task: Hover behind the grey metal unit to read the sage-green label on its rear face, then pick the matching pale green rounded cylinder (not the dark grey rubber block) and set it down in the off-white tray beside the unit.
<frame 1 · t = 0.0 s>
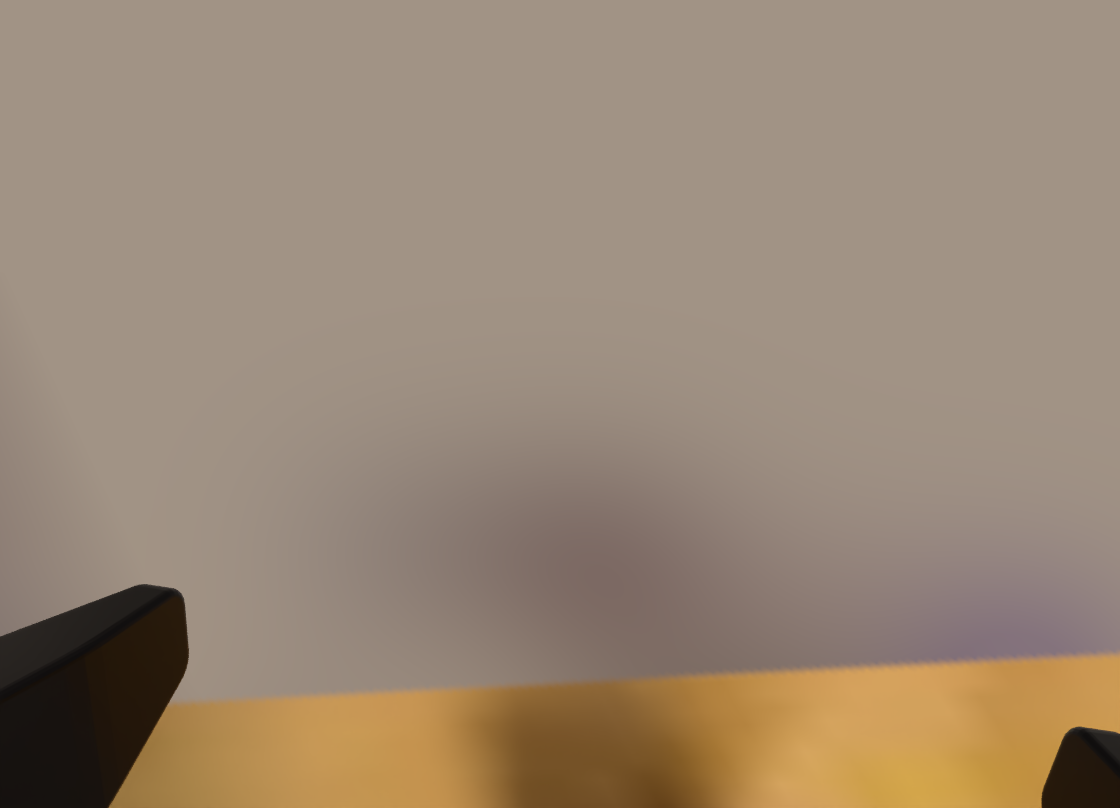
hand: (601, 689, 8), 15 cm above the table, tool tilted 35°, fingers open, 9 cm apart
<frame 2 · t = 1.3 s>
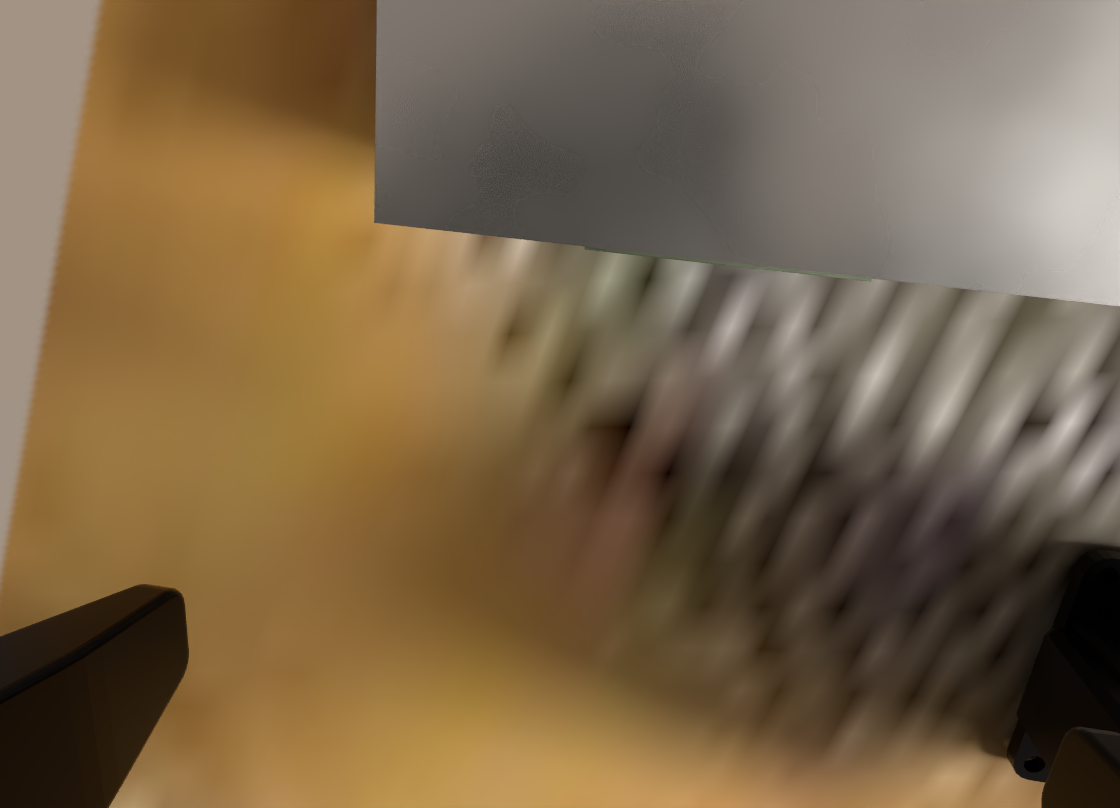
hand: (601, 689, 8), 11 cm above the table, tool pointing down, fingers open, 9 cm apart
unit: (723, 76, 16), on the table
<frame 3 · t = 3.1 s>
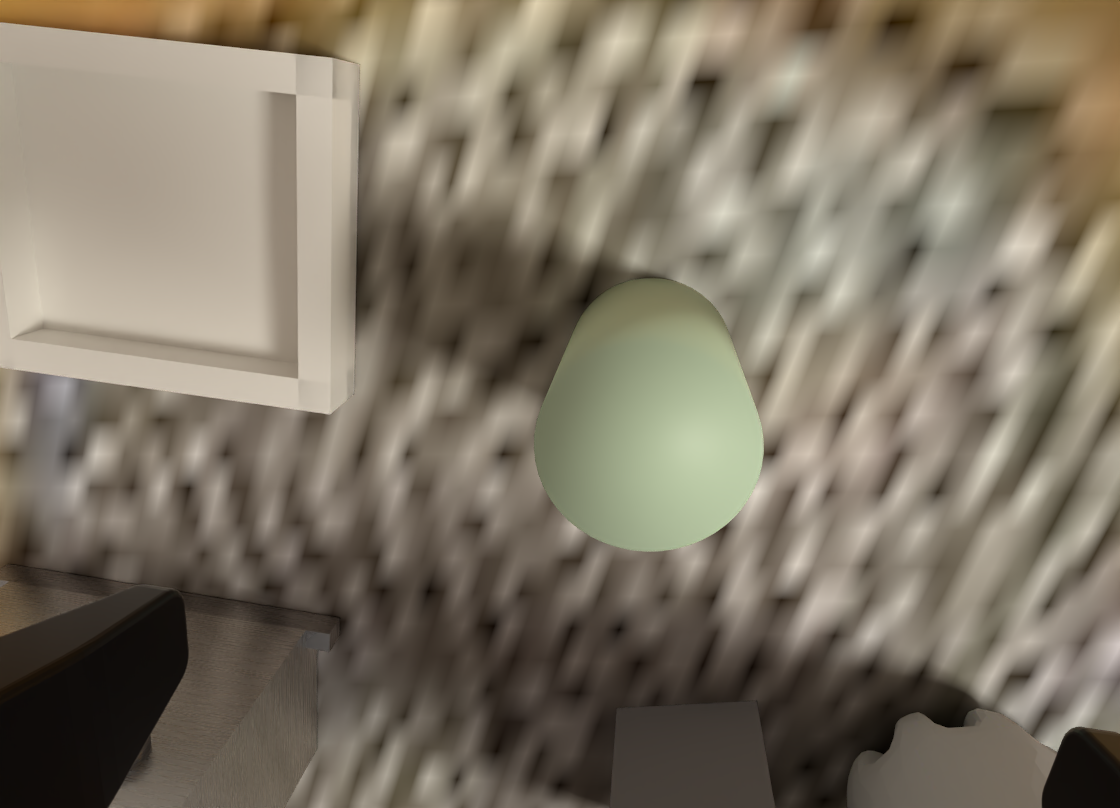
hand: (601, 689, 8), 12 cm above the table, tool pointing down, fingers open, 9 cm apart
bottle: (943, 770, 22), on the table
grey block: (693, 758, 23), on the table
pale green rounded cylinder: (649, 358, 19), on the table
unit: (176, 659, 24), on the table
tray: (182, 218, 20), on the table
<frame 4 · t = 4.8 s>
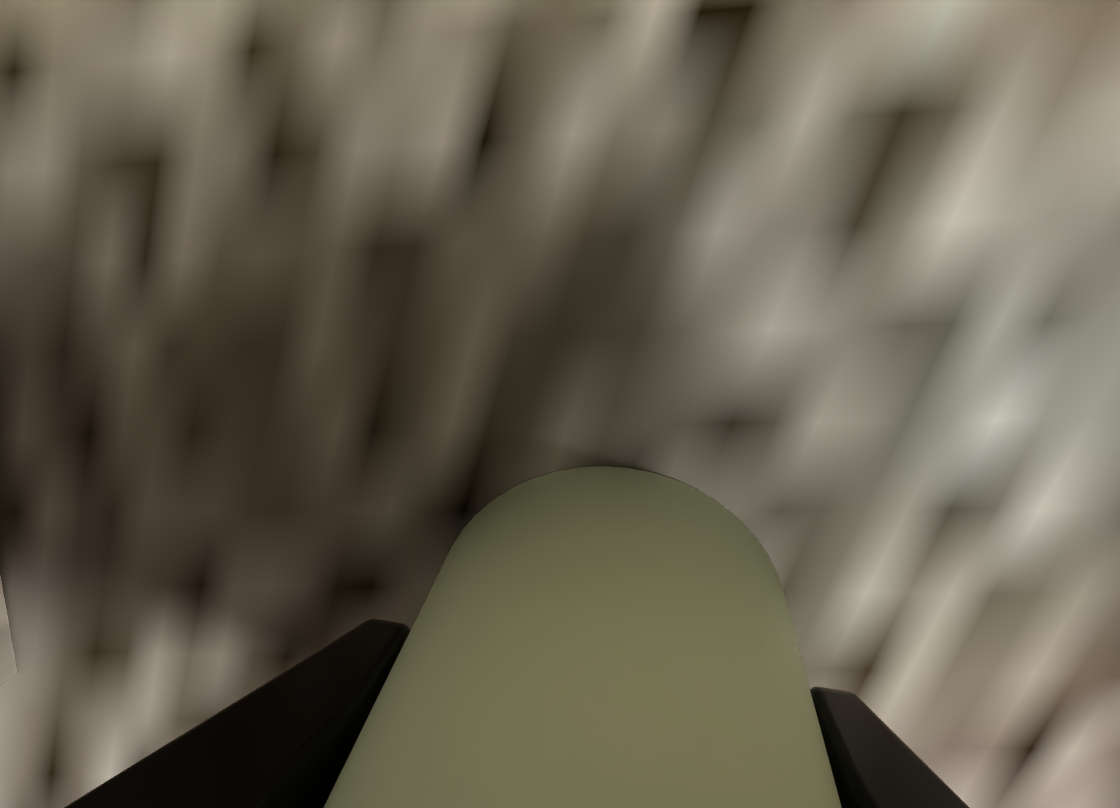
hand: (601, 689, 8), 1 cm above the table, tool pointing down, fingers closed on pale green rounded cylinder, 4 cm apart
pale green rounded cylinder: (607, 627, 9), on the table, touching gripper
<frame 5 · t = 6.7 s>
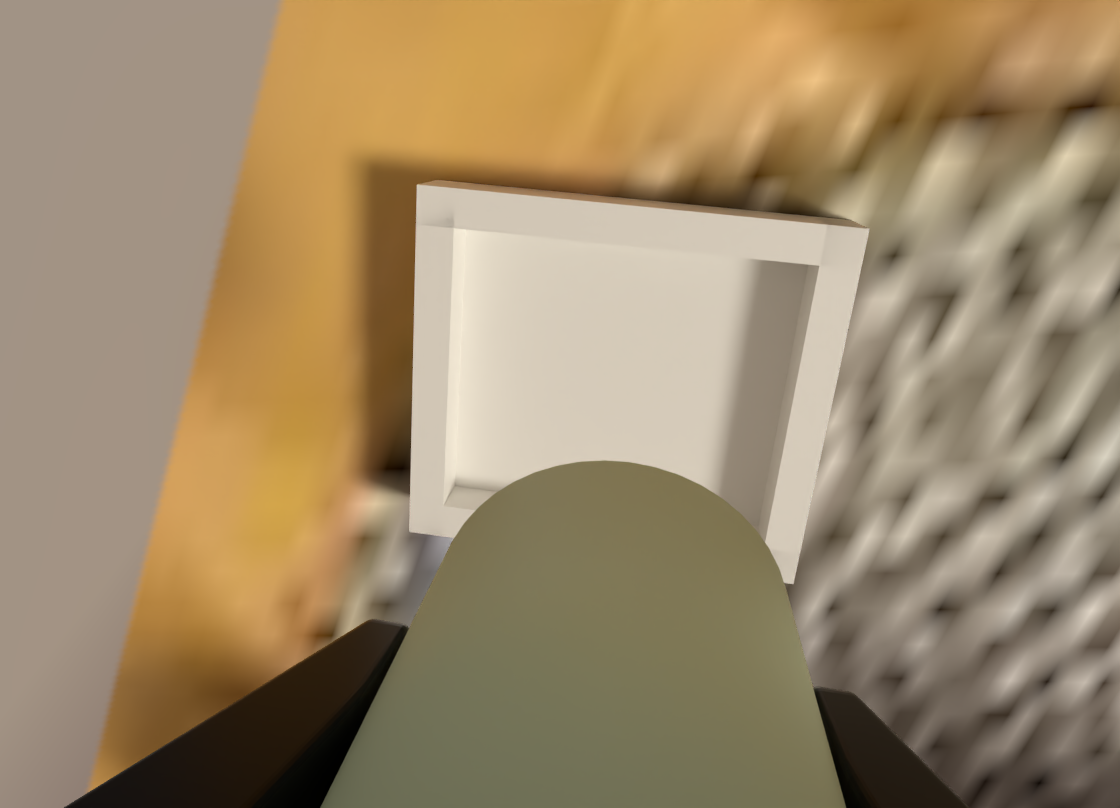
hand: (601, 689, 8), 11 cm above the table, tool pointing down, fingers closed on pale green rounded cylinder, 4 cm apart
pale green rounded cylinder: (608, 622, 9), point 10 cm above the table, touching gripper
tray: (619, 374, 18), on the table
when the fingers open (3 cm above the table, at t = 8.5 s): pale green rounded cylinder drops 1 cm, resting on tray.
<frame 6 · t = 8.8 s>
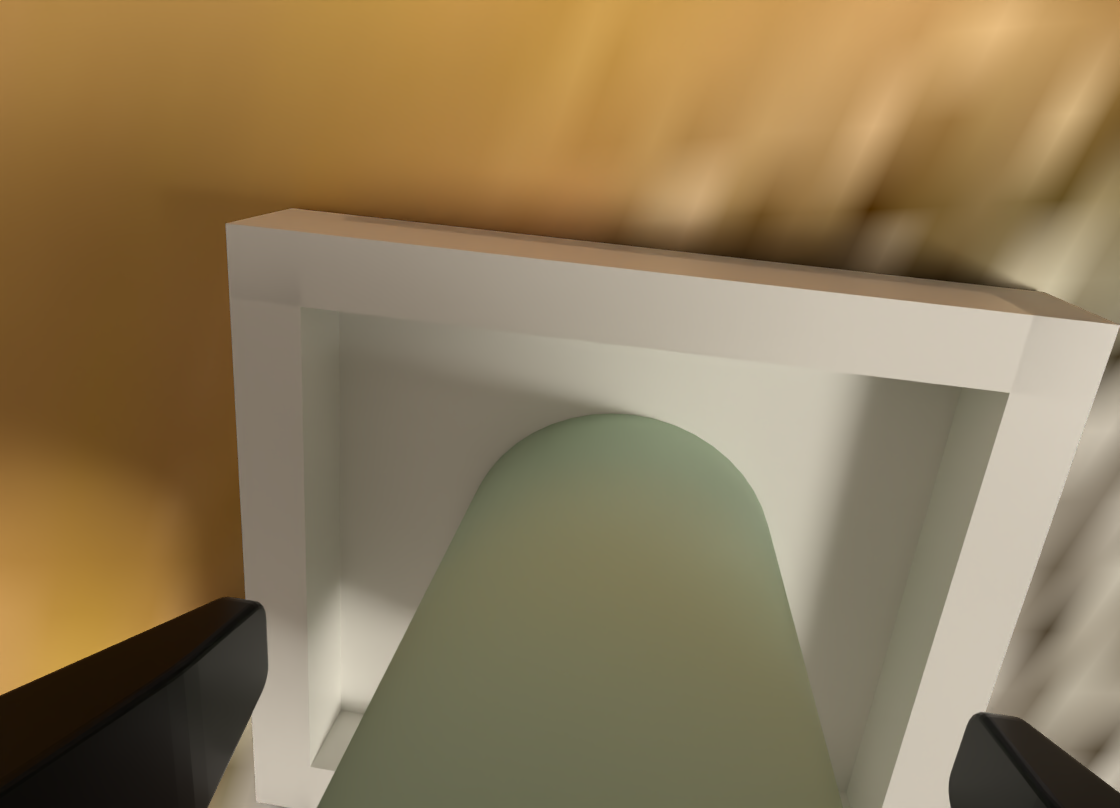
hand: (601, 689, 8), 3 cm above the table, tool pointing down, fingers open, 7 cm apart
pale green rounded cylinder: (614, 556, 10), point 1 cm above the table, touching tray
tray: (614, 540, 11), on the table
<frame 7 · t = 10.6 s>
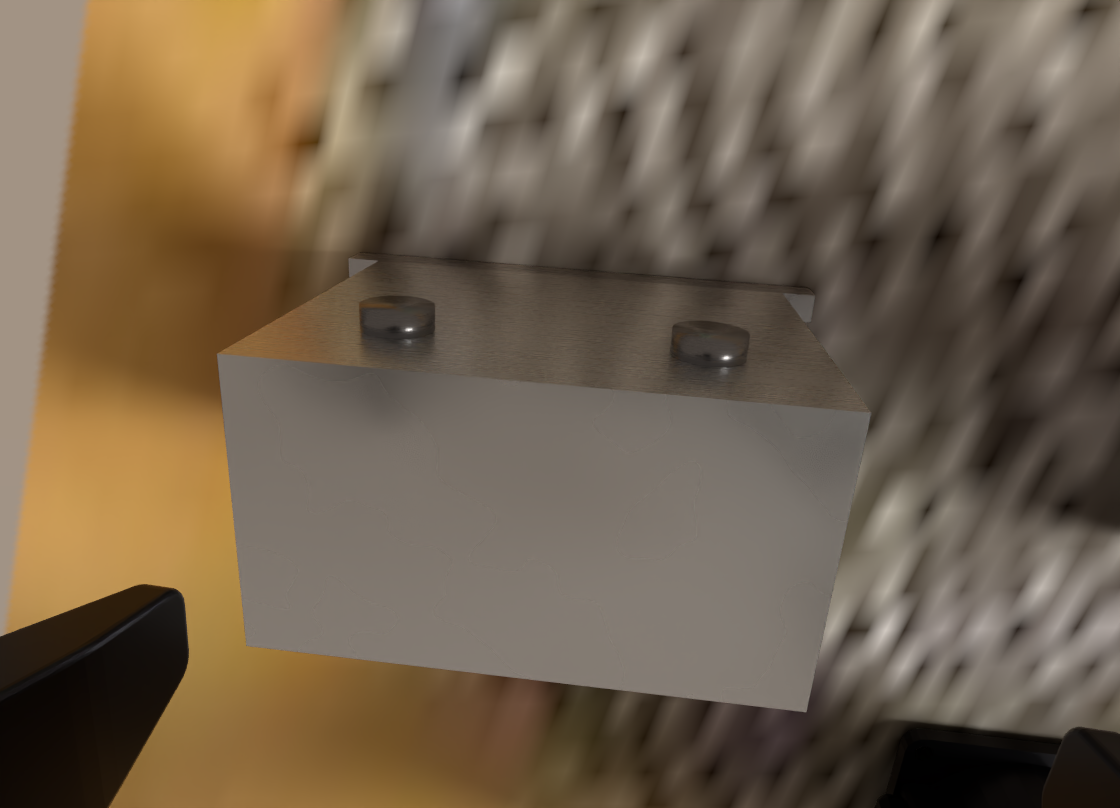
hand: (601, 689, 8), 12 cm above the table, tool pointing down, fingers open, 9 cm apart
unit: (572, 372, 19), on the table
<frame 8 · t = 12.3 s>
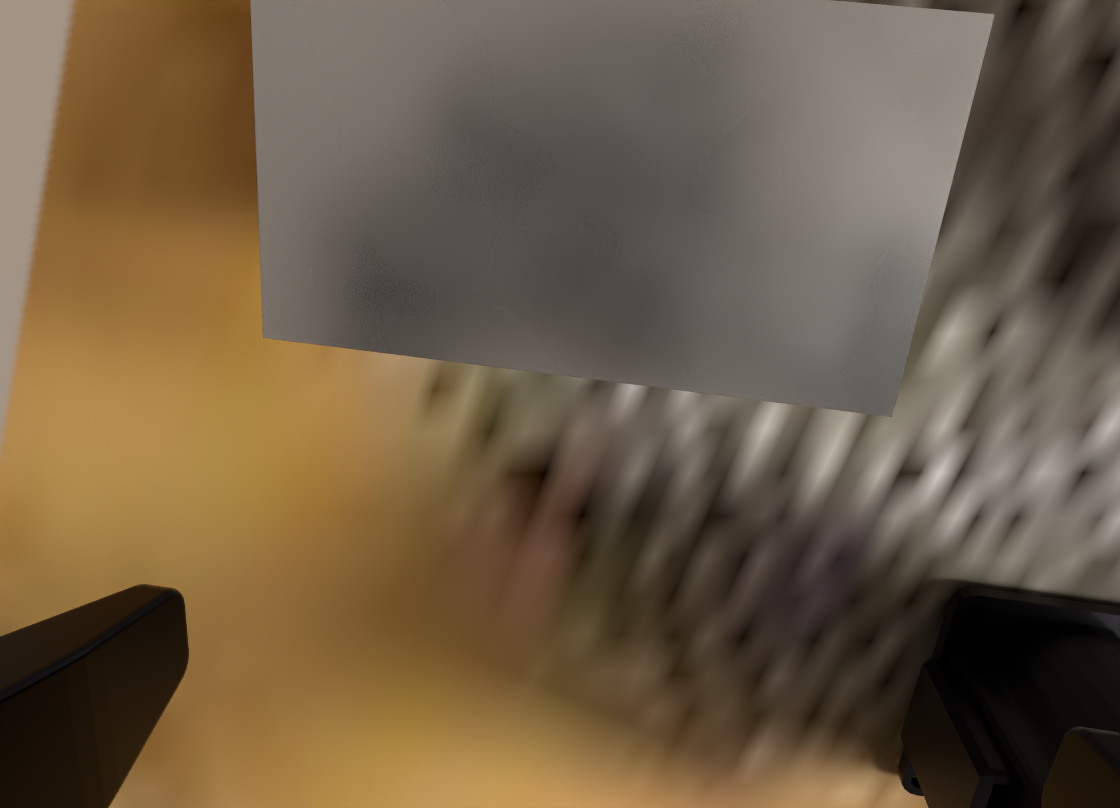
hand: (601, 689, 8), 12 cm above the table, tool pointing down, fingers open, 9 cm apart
unit: (616, 166, 18), on the table
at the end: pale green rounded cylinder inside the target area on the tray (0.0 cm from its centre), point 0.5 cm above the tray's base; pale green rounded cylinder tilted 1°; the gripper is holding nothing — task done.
